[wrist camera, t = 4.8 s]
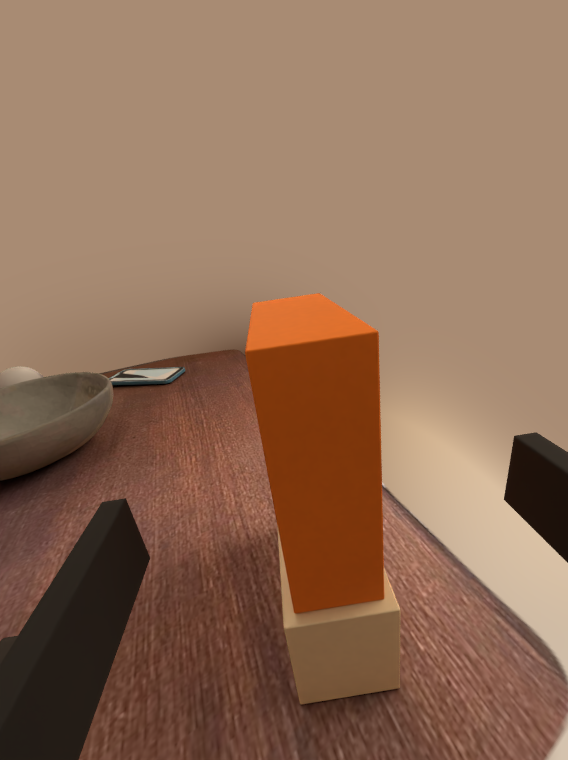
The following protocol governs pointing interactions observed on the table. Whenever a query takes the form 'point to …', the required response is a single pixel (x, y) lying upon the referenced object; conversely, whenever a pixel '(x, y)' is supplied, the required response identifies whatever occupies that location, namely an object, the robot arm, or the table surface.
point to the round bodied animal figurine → (18, 375)
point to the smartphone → (146, 376)
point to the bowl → (49, 419)
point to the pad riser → (342, 645)
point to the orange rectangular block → (321, 446)
